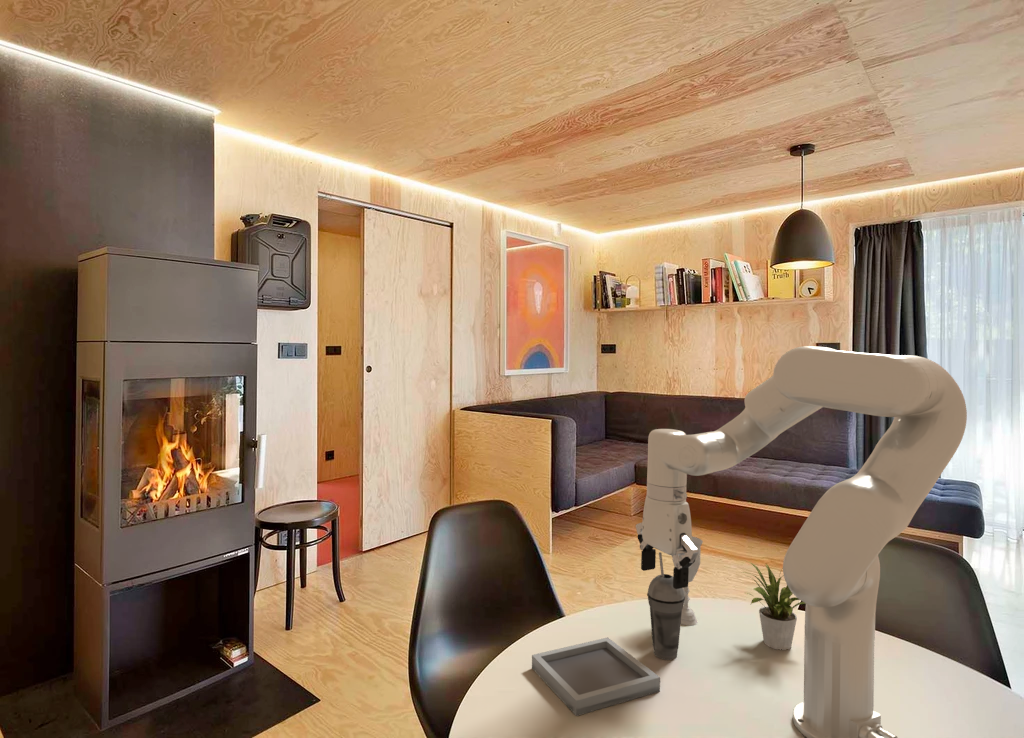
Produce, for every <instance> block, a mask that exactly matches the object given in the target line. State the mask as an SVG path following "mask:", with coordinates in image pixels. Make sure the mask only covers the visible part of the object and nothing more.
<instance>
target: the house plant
mask: <svg viewBox="0 0 1024 738" xmlns="http://www.w3.org/2000/svg"><path fill="white" fill-rule="evenodd" d="M744 561H746V562H747V563H749V564H751V566H752V567H754V568H755V570H756V571H757V574H758V575H759V577H760V578H758V577H757V575H754V574H752V573H749V572H745V571H743V572H741V573H744V574H748V576H747V575H746V577H747V578H751V579H752V580H753V581H754V582H755V583H756V584H757V586H756V587H754V588H753V591H756V592H757V593H758V594H760V595H761V596H762V598H761V597H754V595H753V594H751V593H748V592H745V594H747V595H748V594H749V595H751V596H752V597H754V598H752V599H751V602H750V605H753V604H755V603H758V602H760V604H761V605H762V606H763V607H760V608H759V610H758V614H759V620H760V627H761V632H762V633H761V634H762V639H763V643H764V645H766V646H768V647H769V648H772V649H774V650H778V649H780V650H779V651H786V649H788V650H790V649H791V648H792V645H793V639H794V635H795V629H796V624H797V615H796V614H795V613H794V612H793V610H794V608H796V607H797V606H800V605H803V604H805V603H804V602H803V601H800V600H799V599H798V598H797V597H796V596H795V597H791V596H792V595H794V594H793V593H792V592H791V590H790V589H789V587H788V586H787V585H786V587H785V586H784V587H781V589H780V583H781V580H782V578H784V574H783V575H782V576H781V573H782V571H783V567H782V568H781V569H780V572H779V576H778V577H779V578H778V579H777V580H776V577H775V574H774V573H773V571H772V570H771V568H770V567H769V565H768V564H767V563H765V564H764V565H765V568H766V569H767V575H768V580H769V584H768V583H767V582H766V580H765V578H764V575H763V573H762V571H761V570H760V569H759V568H758V566H757V565H755V564H754V563H752V562H751V561H748V560H744ZM749 575H751V576H753V577H755V578H756V579H757V580H758V581H759V582H760V583H761V585H762V587H761V586H760V585H759V583H758V582H757V580H755V579H754V578H753V577H751V576H749ZM779 590H780V591H779ZM779 592H780V593H779ZM761 601H764V602H765V603H766V604H767V606H765V604H763V603H762V602H761ZM795 601H800V602H798V603H796V604H794V605H793V606H791V605H792V603H793V602H795ZM781 649H782V650H781Z"/></svg>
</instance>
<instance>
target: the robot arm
mask: <svg viewBox="0 0 1024 738" xmlns="http://www.w3.org/2000/svg"><path fill="white" fill-rule="evenodd" d="M772 373H773V374H772V376H771V377H769V378H767V379H766V380H765V381H763V382H762V383H760V384H758V385H757V386H756V387H755V388H752V389H751V390H750V391H749V392H747V394H746V395H745V397H744V406H745V407H744V409H743V410H742V411H741V412H740V414H738V415H737V416H735V417H734V418H733V419H731V420H729V421H728V422H727V423H725V424H724V425H722V426H721V427H720V428H718V429H716V430H714V431H707V432H700V433H695V434H687V433H686V432H684V431H683V430H678V429H673V428H658V429H657V428H655V429H652V430H651V431H650V432H649V434H648V437H647V438H648V439H647V442H648V443H647V467H646V468H647V469H646V470H647V471H646V472H647V473H646V474H647V475H646V476H647V477H646V495H645V499H644V505H643V513H642V521H641V522H639V523H637V524H635V529H636V533H637V540H638V542H639V549H640V550H641V553H640V554H641V559H640V561H641V563H640V570H641V571H650V570H654V569H656V563H657V562H656V559H657V557H656V556H657V554H656V553H657V550H658V551H660V552H661V553H664V554H666V555H669V556H671V557H672V559H673V560H674V562H675V565H676V567H675V566H674V567H673V570H672V571H673V572H672V573H673V575H672V576H673V588H675V589H680V588H685V587H688V588H689V583H688V576H689V567H691V565H692V564H693V563H694V562H695V559H696V557H697V555H698V549H697V548H696V547H695V546H694V544H693V543H692V536H693V529H692V517H691V510H690V504H689V503H688V502H687V498H688V494H687V482H688V481H687V480H688V479H687V478H688V475H690V476H696V477H697V476H698V477H699V476H705V475H708V474H712V473H715V472H716V473H717V472H719V471H723V470H728V469H730V468H733V467H734V466H736V465H738V464H740V463H742V462H743V461H744V460H746V459H748V458H749V457H751V456H753V455H754V454H756V453H758V452H759V451H760V450H762V449H764V448H765V447H766V446H767V445H768V444H770V443H771V442H772V441H774V440H776V438H778V436H779V435H780V434H782V433H784V432H785V431H787V430H788V429H790V428H792V427H793V426H795V425H796V424H798V423H800V422H801V421H803V420H805V419H806V418H807V417H809V416H811V415H813V414H814V413H816V412H817V411H819V410H820V409H822V408H827V409H832V410H837V411H838V410H839V411H844V412H846V411H847V412H851V413H857V414H863V415H870V416H875V417H882V418H883V417H885V418H886V417H887V418H893V420H892V423H891V424H890V426H889V428H888V429H887V430H886V431H885V432H884V433H883V435H882V436H881V438H880V439H879V440H878V442H877V444H875V446H874V449H873V450H872V452H871V454H870V455H869V456H868V458H867V459H866V461H865V462H864V463H863V465H862V466H861V468H860V469H859V470H858V472H857V473H856V474H854V475H853V476H852V477H850V478H847V479H845V480H842V481H840V482H838V483H836V484H834V485H833V486H831V487H830V488H829V489H827V490H826V492H825V493H824V494H823V495H822V496H821V497H820V498H819V499H818V501H817V502H816V504H815V505H814V507H813V508H812V510H811V512H810V513H809V514H808V516H807V518H806V520H805V521H804V522H803V524H802V526H801V528H800V529H799V531H798V533H797V534H796V535H795V537H794V539H793V540H792V541H791V543H790V545H789V546H788V548H787V550H786V552H785V554H784V558H783V561H782V568H783V569H782V572H783V573H782V574H783V575H784V576H783V579H784V581H785V583H786V586H788V587H789V589H790V590H791V592H792V593H793V594H792V595H794V596H795V598H798V599H799V600H798V601H800V602H804V604H805V611H804V647H803V648H804V650H803V651H804V653H803V655H804V656H803V657H804V658H803V701H801V702H799V703H797V704H796V705H795V706H794V707H793V710H792V720H793V724H794V725H795V728H797V730H798V731H799V732H800V734H803V736H804V737H806V738H899V737H898V736H897V735H895V734H894V733H892V732H891V731H889V730H886V729H885V728H883V725H881V720H882V718H881V716H882V715H881V713H879V712H877V711H874V706H875V705H874V702H875V701H874V700H875V699H874V696H875V695H874V694H875V693H874V691H875V689H874V688H875V687H874V686H875V640H876V614H877V613H876V612H877V601H878V594H879V586H880V581H881V580H880V579H881V564H880V563H881V562H880V558H879V554H880V553H881V552H882V550H883V548H885V546H886V545H887V544H888V543H889V542H891V541H892V540H893V539H894V538H897V537H898V536H899V535H900V534H901V533H903V532H904V531H905V530H906V529H907V528H908V526H909V525H910V523H911V521H912V519H913V518H914V516H915V514H916V512H917V511H918V510H919V508H920V506H921V505H922V503H923V502H924V501H925V499H926V498H927V496H928V495H929V493H930V492H931V491H932V489H933V488H934V487H935V485H936V483H937V482H938V480H939V478H940V477H941V475H942V474H943V472H944V470H945V469H946V467H947V466H948V464H949V463H950V462H951V460H952V459H953V457H954V456H955V453H956V452H957V450H958V448H959V447H960V444H961V442H962V440H963V437H964V435H965V432H966V427H967V420H968V418H967V417H968V416H967V415H968V411H967V404H966V400H965V396H964V394H963V392H962V390H961V388H960V385H959V384H958V383H957V381H956V380H955V378H954V377H953V376H952V375H951V374H950V373H949V372H948V371H947V370H946V369H945V368H944V367H943V366H941V365H940V364H939V363H937V362H935V361H933V360H931V359H930V358H926V357H923V356H920V355H919V356H918V355H912V354H911V355H909V354H907V355H906V354H904V355H903V354H901V355H900V354H899V355H898V354H884V353H869V352H857V351H848V350H847V351H846V350H837V349H835V348H831V347H827V346H826V347H825V346H813V345H811V346H810V345H804V346H798V347H794V348H791V349H790V350H788V351H787V352H785V353H784V354H782V356H780V357H779V359H778V361H777V362H776V363H775V365H774V369H773V372H772ZM676 549H678V550H680V551H676ZM679 555H681V556H682V558H683V559H682V560H681V561H680V559H679ZM673 560H672V561H673Z"/></svg>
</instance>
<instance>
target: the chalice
mask: <svg viewBox="0 0 1024 738" xmlns="http://www.w3.org/2000/svg"><path fill="white" fill-rule="evenodd" d="M692 543H693V544H694V546H695V547H696V548H697V549H698V555H697V557H696V559H695V562H694V563H693V564H692V565H691V567H689V576H688V584H690V583H691V582H693V581H694V578H695V576H697V573H698V571H699V568H700V566H701V546H702V545H703V543H704V541H703V540H702V539H701V538H698V537H696V536H693V535H692ZM676 551H680V550H678V549H676ZM679 559H680V561H681V560H682V559H683V558H682V556H681V555H679ZM672 562H673V566H674V567H676V565H675V562H674V560H673V558H672ZM683 590H684V596H685V600H684V605H683V609H682V615H681V625H683V626H694V625H695V626H696V625H697V624H698V622H697V621H698V619H697V616H696V615H695V612H694V610H693V609H692V608H690V606H689V601H691V598H690V597H689V592H690V589H689V586H688V587H685V588H683Z"/></svg>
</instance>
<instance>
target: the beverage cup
mask: <svg viewBox="0 0 1024 738" xmlns="http://www.w3.org/2000/svg"><path fill="white" fill-rule="evenodd" d="M658 558H659V566H660V567H659V568H660V574H659V575H656V576H655V577H654V578H653V579H652V580H651V581H650V583H649V585H648V588H647V593H646V595H647V601H648V606H649V611H650V612H649V613H650V627H651V629H650V630H651V640H652V641H651V642H652V649H653V654H654V656H656V657H657V658H659V659H660V660H665V661H666V660H667V661H668V660H669V661H672V660H675V659H676V658H678V651H679V644H680V635H681V634H680V633H681V625H682V624H681V615H682V609H683V605H684V600H685V596H684V590H683V588H680V589H675V588H673V575H671V574H666V573H665V572H664V566H663V555H662V551H660V552H659V551H658Z"/></svg>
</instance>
